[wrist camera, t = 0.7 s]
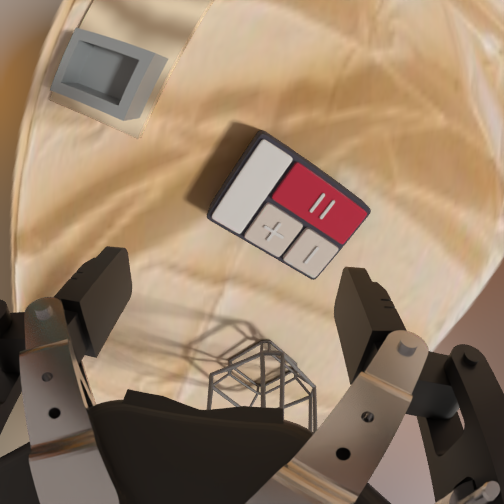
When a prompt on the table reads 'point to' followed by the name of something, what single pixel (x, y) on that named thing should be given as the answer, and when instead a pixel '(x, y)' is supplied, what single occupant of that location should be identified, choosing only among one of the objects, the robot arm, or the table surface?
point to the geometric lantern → (263, 385)
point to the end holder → (108, 74)
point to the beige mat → (141, 44)
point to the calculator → (287, 206)
